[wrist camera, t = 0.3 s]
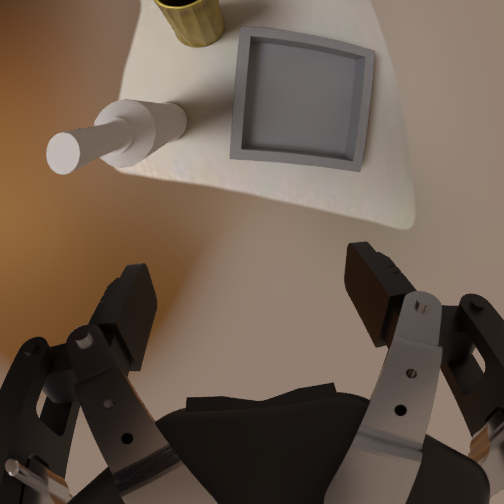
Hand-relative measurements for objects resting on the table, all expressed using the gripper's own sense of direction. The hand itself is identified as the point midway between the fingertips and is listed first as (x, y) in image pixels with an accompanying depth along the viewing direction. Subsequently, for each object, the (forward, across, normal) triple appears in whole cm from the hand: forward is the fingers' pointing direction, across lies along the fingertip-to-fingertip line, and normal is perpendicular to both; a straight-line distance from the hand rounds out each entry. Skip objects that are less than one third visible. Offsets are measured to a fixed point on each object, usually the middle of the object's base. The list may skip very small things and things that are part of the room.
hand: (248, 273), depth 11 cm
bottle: (+28, +8, -5) cm, 29 cm away
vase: (+28, +3, -18) cm, 33 cm away
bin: (+28, -8, -7) cm, 30 cm away
